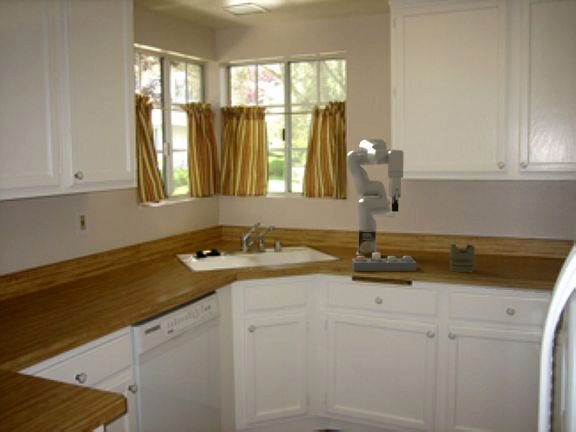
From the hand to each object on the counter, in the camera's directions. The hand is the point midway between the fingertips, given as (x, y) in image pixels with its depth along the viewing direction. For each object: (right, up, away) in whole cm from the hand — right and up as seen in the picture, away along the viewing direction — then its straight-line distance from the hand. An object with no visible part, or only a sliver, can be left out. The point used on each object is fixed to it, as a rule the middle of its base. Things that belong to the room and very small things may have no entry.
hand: (394, 211), depth 313 cm
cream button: (-11, -25, -8) cm, 28 cm away
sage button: (-3, -26, -8) cm, 28 cm away
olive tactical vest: (+30, -29, -13) cm, 44 cm away
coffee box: (-13, -26, +12) cm, 32 cm away
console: (-7, -28, -8) cm, 30 cm away
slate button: (+4, -26, -8) cm, 28 cm away
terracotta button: (-18, -26, -8) cm, 33 cm away
